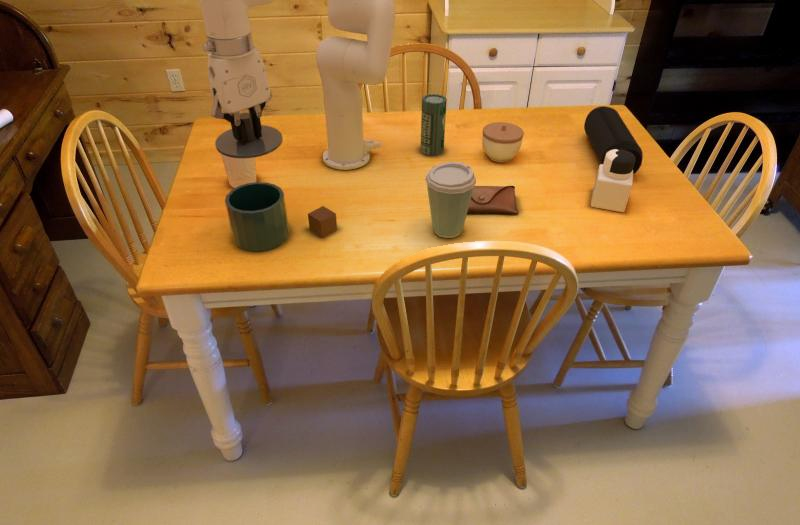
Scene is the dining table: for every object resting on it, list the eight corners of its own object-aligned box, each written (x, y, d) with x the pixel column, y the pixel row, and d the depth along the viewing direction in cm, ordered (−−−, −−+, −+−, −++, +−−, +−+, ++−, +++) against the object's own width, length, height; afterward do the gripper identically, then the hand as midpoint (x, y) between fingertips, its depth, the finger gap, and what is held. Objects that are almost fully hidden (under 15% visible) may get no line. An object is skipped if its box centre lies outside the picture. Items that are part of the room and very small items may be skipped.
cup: (279, 214, 130) (274, 177, 124) (296, 243, 122) (291, 204, 115) (228, 227, 126) (219, 189, 120) (241, 258, 118) (232, 218, 111)
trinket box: (508, 145, 158) (512, 113, 152) (526, 163, 150) (532, 131, 144) (473, 150, 155) (476, 119, 149) (490, 169, 147) (494, 136, 141)
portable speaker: (639, 182, 143) (650, 146, 137) (600, 181, 143) (609, 145, 137) (612, 136, 163) (621, 103, 156) (578, 135, 163) (586, 102, 157)
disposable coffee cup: (436, 248, 121) (439, 189, 111) (415, 222, 128) (417, 164, 119) (479, 237, 124) (486, 178, 114) (456, 212, 132) (461, 154, 122)
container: (625, 196, 137) (639, 148, 129) (624, 213, 132) (639, 164, 124) (592, 190, 139) (605, 143, 131) (590, 207, 134) (603, 158, 126)
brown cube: (324, 221, 128) (323, 205, 125) (337, 229, 126) (336, 213, 123) (309, 229, 126) (307, 213, 123) (322, 238, 123) (320, 221, 120)
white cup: (251, 192, 138) (244, 155, 131) (221, 188, 139) (213, 152, 132) (264, 176, 144) (258, 140, 137) (235, 172, 145) (228, 137, 138)
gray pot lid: (272, 125, 118) (267, 96, 114) (291, 152, 109) (287, 122, 105) (210, 137, 114) (203, 109, 110) (224, 167, 105) (217, 137, 101)
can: (447, 152, 154) (450, 100, 145) (429, 158, 152) (432, 105, 142) (434, 143, 158) (436, 92, 149) (416, 149, 155) (418, 97, 146)
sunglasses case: (444, 214, 130) (444, 185, 129) (440, 212, 137) (440, 185, 136) (521, 213, 130) (521, 184, 129) (513, 212, 137) (514, 184, 136)
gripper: (201, 61, 92) (223, 159, 104) (281, 37, 101) (293, 130, 113) (177, 50, 96) (202, 146, 108) (256, 28, 105) (271, 119, 117)
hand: (248, 137), depth 110 cm, fingers closed on gray pot lid, 2 cm apart
